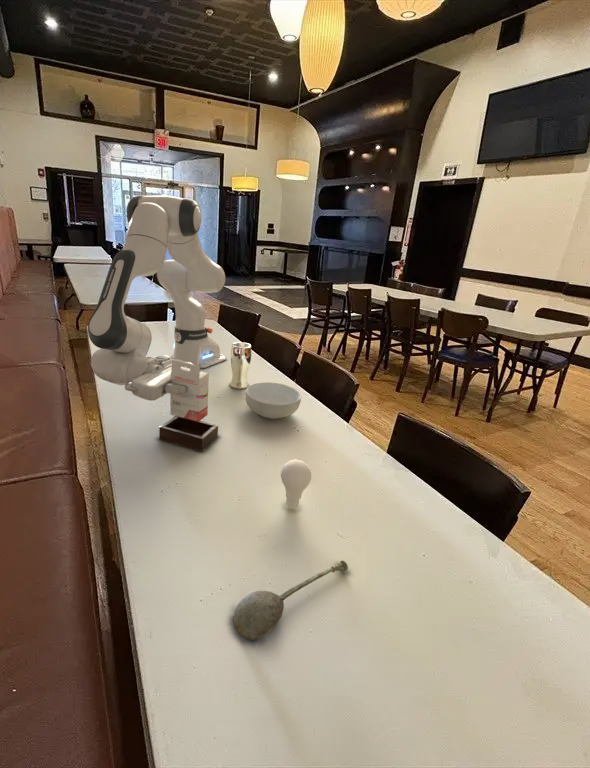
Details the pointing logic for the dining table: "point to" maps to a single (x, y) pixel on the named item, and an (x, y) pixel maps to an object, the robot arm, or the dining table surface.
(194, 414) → the ink cartridge box
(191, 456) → the dining table surface
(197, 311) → the robot arm
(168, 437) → the tray
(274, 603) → the soupspoon
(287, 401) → the cereal bowl
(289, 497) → the lightbulb
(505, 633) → the dining table surface
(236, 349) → the beer glass
